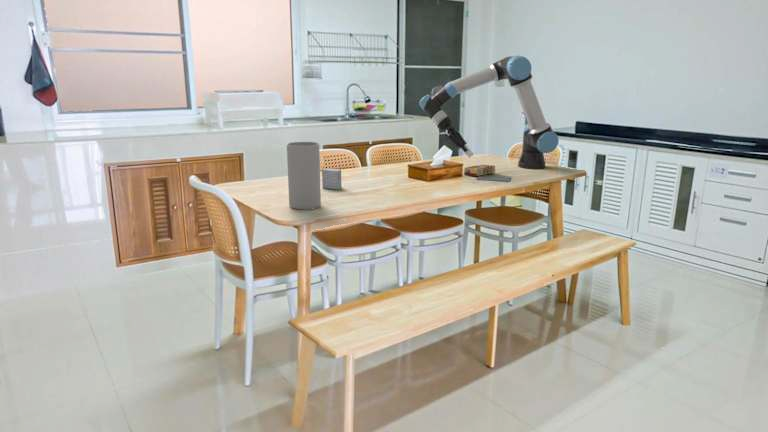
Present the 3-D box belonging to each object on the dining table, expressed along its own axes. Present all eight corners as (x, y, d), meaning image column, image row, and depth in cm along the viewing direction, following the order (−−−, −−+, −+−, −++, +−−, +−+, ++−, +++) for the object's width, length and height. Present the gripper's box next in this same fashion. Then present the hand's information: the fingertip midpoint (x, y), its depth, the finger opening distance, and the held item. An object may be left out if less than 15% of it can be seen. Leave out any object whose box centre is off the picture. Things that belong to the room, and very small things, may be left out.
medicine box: (341, 187, 242) (341, 169, 240) (337, 189, 238) (337, 171, 235) (326, 186, 244) (325, 168, 242) (322, 188, 240) (321, 170, 238)
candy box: (476, 176, 267) (495, 172, 277) (476, 168, 266) (495, 164, 276) (463, 175, 274) (482, 171, 283) (463, 167, 273) (482, 163, 283)
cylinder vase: (283, 208, 206) (280, 145, 199) (299, 201, 217) (297, 141, 210) (311, 211, 201) (309, 147, 194) (326, 204, 213) (324, 142, 206)
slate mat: (511, 177, 269) (511, 176, 269) (509, 181, 258) (509, 181, 258) (479, 175, 274) (480, 174, 274) (476, 179, 263) (476, 178, 263)
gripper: (441, 124, 276) (470, 158, 273) (432, 127, 265) (461, 162, 262) (451, 115, 272) (480, 149, 269) (442, 117, 261) (472, 152, 258)
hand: (471, 155), depth 265 cm, fingers closed
